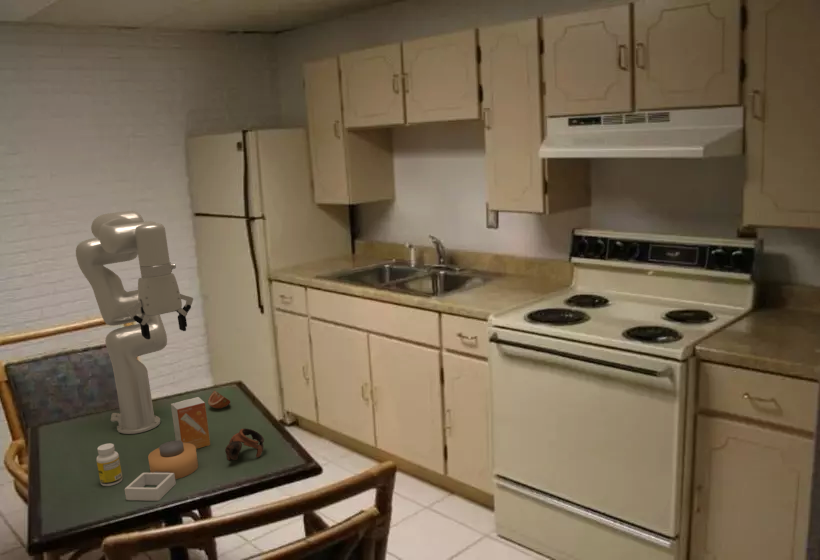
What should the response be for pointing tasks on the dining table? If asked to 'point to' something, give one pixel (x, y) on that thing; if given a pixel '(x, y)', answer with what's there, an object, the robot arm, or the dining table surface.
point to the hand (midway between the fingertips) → (165, 334)
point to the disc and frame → (163, 470)
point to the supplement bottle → (108, 465)
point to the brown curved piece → (239, 438)
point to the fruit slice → (218, 400)
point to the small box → (191, 422)
